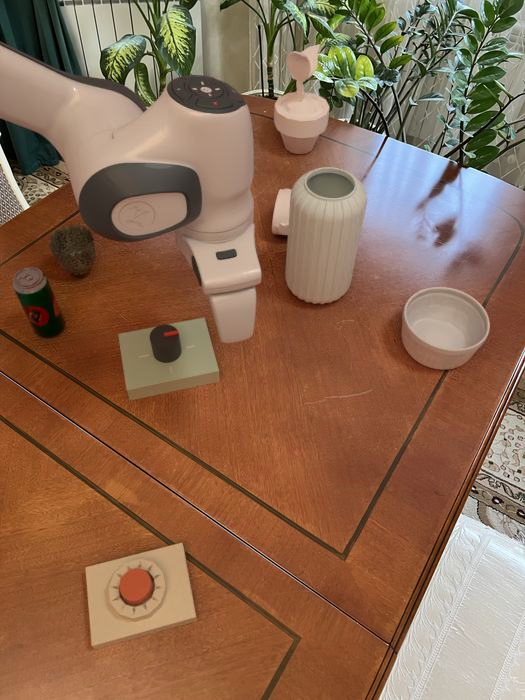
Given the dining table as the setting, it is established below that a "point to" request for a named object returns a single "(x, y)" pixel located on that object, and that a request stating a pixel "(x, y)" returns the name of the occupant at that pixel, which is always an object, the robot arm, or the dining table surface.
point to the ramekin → (443, 327)
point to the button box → (150, 616)
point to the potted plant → (301, 105)
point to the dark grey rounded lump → (74, 249)
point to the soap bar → (281, 212)
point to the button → (136, 586)
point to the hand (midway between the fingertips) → (219, 308)
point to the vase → (324, 234)
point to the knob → (165, 343)
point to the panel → (180, 374)
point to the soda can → (38, 302)
